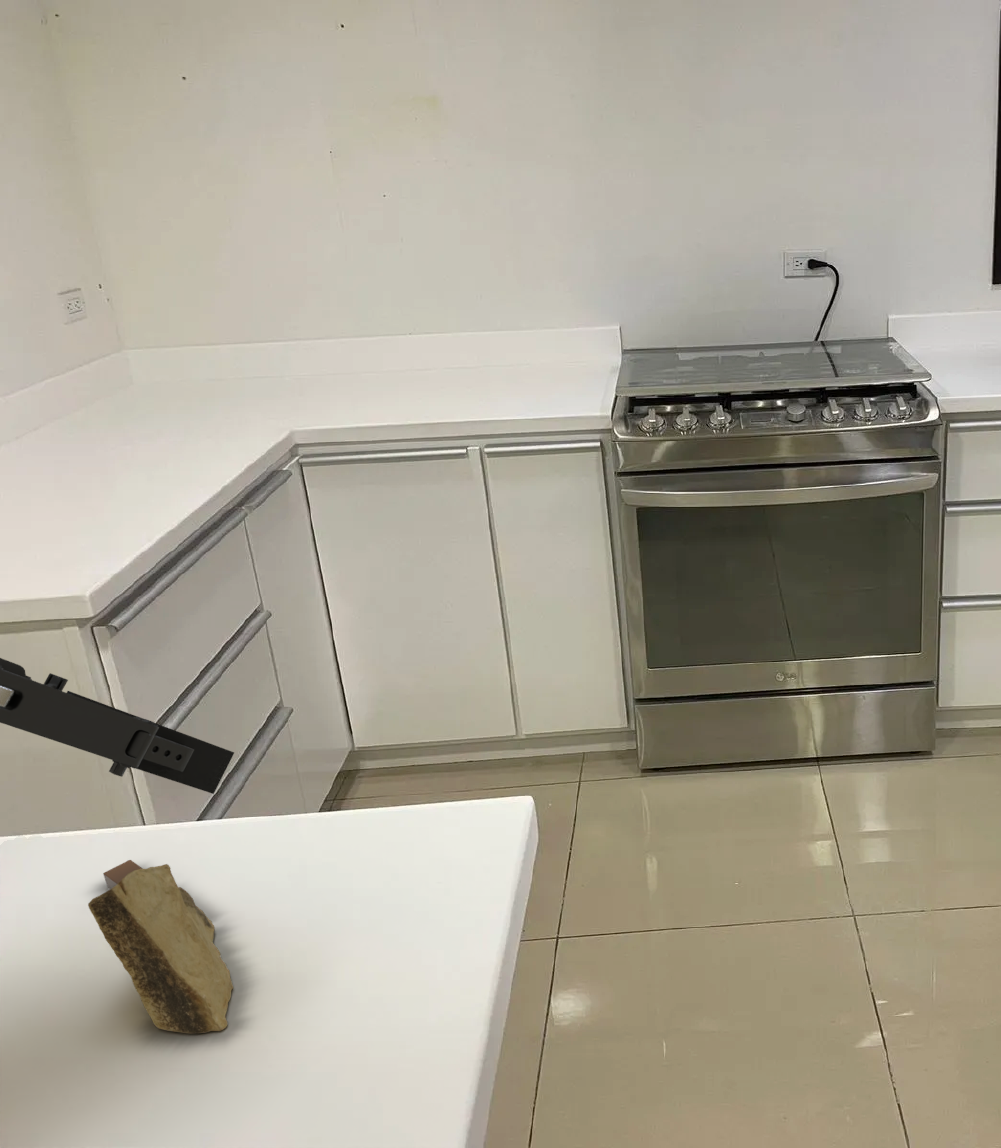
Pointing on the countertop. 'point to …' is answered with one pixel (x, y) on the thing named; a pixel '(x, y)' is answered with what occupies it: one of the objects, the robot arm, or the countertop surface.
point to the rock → (166, 950)
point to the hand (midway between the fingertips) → (184, 757)
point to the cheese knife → (119, 873)
